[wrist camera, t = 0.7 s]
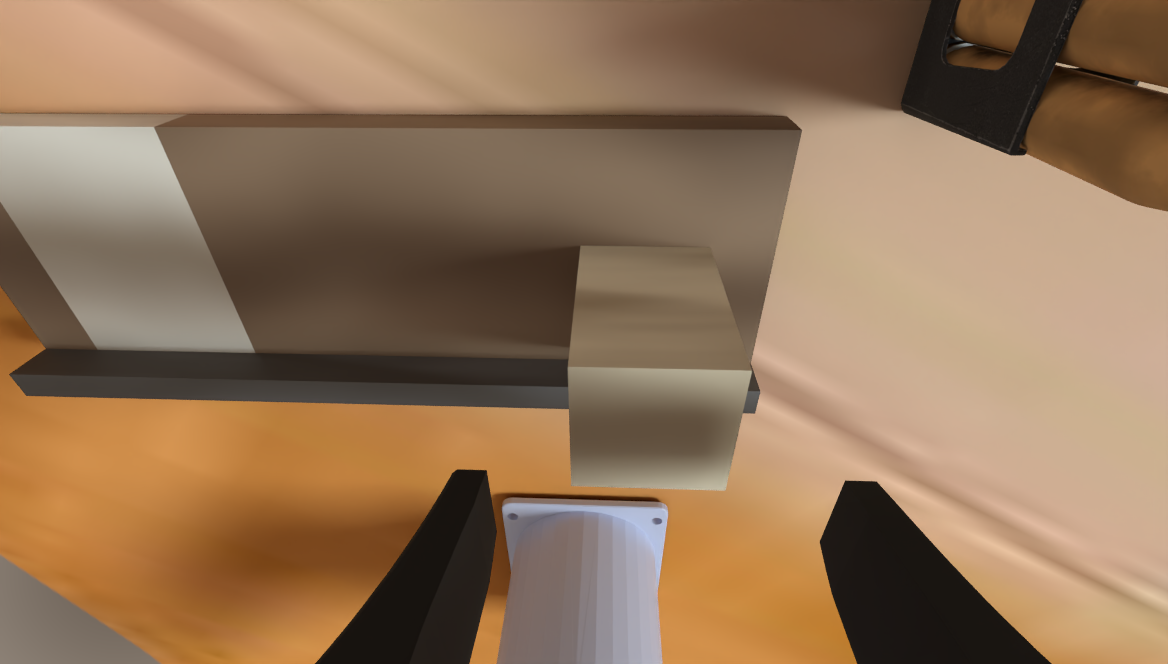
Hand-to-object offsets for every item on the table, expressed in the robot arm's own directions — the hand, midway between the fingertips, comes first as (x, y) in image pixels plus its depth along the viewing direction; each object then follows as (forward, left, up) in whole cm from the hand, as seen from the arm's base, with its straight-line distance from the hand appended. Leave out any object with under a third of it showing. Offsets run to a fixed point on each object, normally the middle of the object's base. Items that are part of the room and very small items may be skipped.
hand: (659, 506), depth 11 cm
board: (+1, +9, -10) cm, 13 cm away
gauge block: (0, 0, -8) cm, 8 cm away
